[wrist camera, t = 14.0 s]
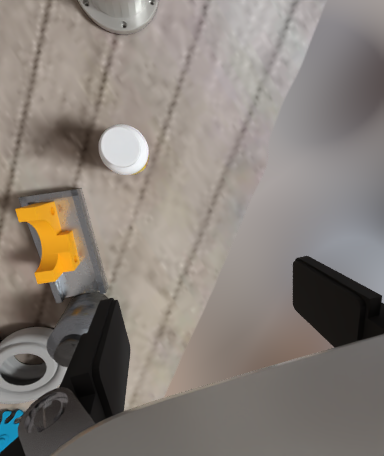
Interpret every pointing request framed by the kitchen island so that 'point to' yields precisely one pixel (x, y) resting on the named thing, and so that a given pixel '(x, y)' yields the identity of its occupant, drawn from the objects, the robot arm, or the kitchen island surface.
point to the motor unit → (73, 273)
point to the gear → (8, 429)
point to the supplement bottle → (123, 149)
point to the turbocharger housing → (27, 367)
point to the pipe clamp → (50, 241)
